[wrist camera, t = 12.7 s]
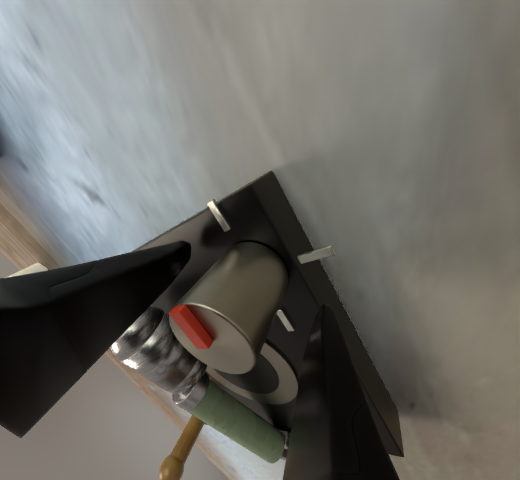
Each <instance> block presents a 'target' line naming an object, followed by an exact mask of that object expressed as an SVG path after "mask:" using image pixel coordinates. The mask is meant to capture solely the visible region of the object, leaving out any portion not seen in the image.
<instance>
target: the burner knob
mask: <svg viewBox="0 0 520 480" xmlns="http://www.w3.org/2000/svg"><path fill="white" fill-rule="evenodd" d="M288 281H289V279H288V272H287V269H286V267H285V265H284V263H283V261H282V260H281V259H280V258H279V256H278V255H277V254H276V253H274V252H273V251H272V250H270V249H269V248H267V247H265V246H263V245H261V244H258V243H254V242H242V243H238V244H235V245H233V246H232V247H230V248H229V249H228V250H227V251H226V252H225V253H224V254H223V256H222V257H221V258H220V259H219V260H218V261H217V262H216V263H215V264H214V265H213V266H212V267H211V268H210V269H209V270H208V271H207V272H206V273H205V274H204V275H203V276H202V277H201V278H200V279H199V281H198V282H197V283H196V284H195V285H194V286H193V287H192V288H191V289H190V290H189V291H188V292H187V293H186V294H185V295H184V296H183V297H182V298H181V299H180V300H179V301H178V302H177V303H176V304H175V305H174V307H173V308H172V309H171V311H170V312H169V322H170V326H171V329H172V331H173V333H174V335H175V336H176V338H177V339H178V340H179V342H180V343H181V344H182V345H183V346H184V348H186V349H187V350H188V351H189V352H190V353H191V354H192V355H193V356H195V357H196V358H197V359H199V360H200V361H201V362H203V363H205V364H206V365H208V366H210V367H212V368H214V369H217V370H219V371H222V372H226V373H230V374H244V373H247V372H249V371H250V370H251V369H252V368H253V367H254V366H255V364H256V362H257V360H258V357H259V355H260V352H261V350H262V347H263V345H264V343H265V340H266V338H267V335H268V333H269V330H270V328H271V325H272V323H273V321H274V318H275V316H276V313H277V311H278V308H279V306H280V303H281V301H282V299H283V296H284V294H285V291H286V289H287V286H288Z"/></svg>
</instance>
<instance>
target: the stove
mask: <svg viewBox="0 0 520 480" xmlns="http://www.w3.org/2000/svg"><path fill="white" fill-rule="evenodd" d="M207 205H208V206H209V207H208V208H206V209H204V210H202V211H201V212H199V213H197V214H195V215H194V216H192V217H190V218H189V219H187V220H185V221H183V222H182V223H180V224H178V225H177V226H175V227H173V228H171V229H170V230H168V231H166V232H164V233H163V234H161V235H159V236H158V237H156V238H154V239H152V240H151V241H149V242H147V243H146V244H144V245H142V246H140V247H139V248H137V249H136V250H134V251H132V252H135V251H139V250H143V249H147V248H152V247H156V246H160V245H164V244H169V243H173V242H177V241H182V240H183V241H186V242H188V243H190V244H191V258H190V260H189V262H188V263H187V265H186V266H185V267H184V268H183V270H182V271H181V272H180V273H179V275H178V276H177V277H176V279H175V280H174V281H173V282H172V284H171V285H170V286H169V287H168V288H167V289H166V290H165V291H164V292H163V293H162V294H161V295H160V296H159V297H158V298H157V299H156V300H155V302H154V303H153V304H152V305H153V306H156V307H159V308H161V309H162V310H164V311H165V312H166V313H167V314H169V312H170V311H171V309H172V308H173V307H174V305H175V304H176V303H177V302H178V301H179V300H180V299H181V298H182V297H183V296H184V295H185V294H186V293H187V292H188V291H189V290H190V289H191V288H192V287H193V286H194V285H195V284H196V283H197V282H198V281H199V279H200V278H201V277H202V276H203V275H204V274H205V273H206V272H207V271H208V270H209V269H210V268H211V267H212V266H213V265H214V264H215V263H216V262H217V261H218V260H219V259H220V258H221V257H222V256H223V254H224V253H225V252H226V251H227V250H228V249H229V248H230V247H232V246H233V245H235V244H238V243H242V242H254V243H258V244H261V245H263V246H265V247H267V248H269V249H270V250H272V251H273V252H274V253H276V254H277V255H278V256H279V258H280V259H281V260H282V261H283V263H284V265H285V267H286V269H287V272H288V279H289V281H288V286H287V289H286V291H285V294H284V296H283V299H282V301H281V303H280V306H279V308H278V311H277V313H276V316H275V318H274V321H273V323H272V325H271V328H270V330H269V333H268V335H267V338H266V340H265V341H267V342H268V343H270V344H271V345H272V346H273V347H275V348H276V349H277V350H278V351H279V352H280V353H281V354H282V355H283V356H284V357H285V358H286V359H287V360H288V362H289V363H290V364H291V366H292V368H293V369H294V371H295V373H296V375H297V378H298V384H299V380H300V374H301V368H302V362H303V357H304V352H305V348H306V345H307V342H308V338H309V335H310V331H311V328H312V325H313V321H314V318H315V316H316V314H317V313H318V311H319V309H320V308H321V306H322V305H323V304H326V305H328V306H331V307H332V308H333V309H334V311H335V314H336V317H337V320H338V322H339V325H340V328H341V331H342V333H343V336H344V339H345V342H346V344H347V347H348V350H349V353H350V355H351V358H352V361H353V364H354V366H355V369H356V372H357V375H358V377H359V380H360V383H361V386H362V388H363V391H364V394H365V396H366V401H367V402H368V404H369V407H370V410H371V413H372V415H373V418H374V421H375V423H376V426H377V428H378V431H379V433H380V436H381V438H382V441H383V443H384V445H385V448H386V450H387V452H388V454H391V455H395V456H400V457H404V453H403V445H402V438H401V430H400V423H399V415H398V411H397V409H396V407H395V405H394V403H393V401H392V399H391V397H390V395H389V393H388V392H387V390H386V388H385V386H384V384H383V382H382V380H381V378H380V376H379V374H378V372H377V371H376V369H375V367H374V365H373V363H372V361H371V359H370V357H369V355H368V353H367V351H366V349H365V348H364V346H363V344H362V342H361V340H360V338H359V336H358V334H357V332H356V330H355V328H354V327H353V325H352V323H351V321H350V319H349V317H348V315H347V313H346V311H345V309H344V307H343V306H342V304H341V302H340V300H339V298H338V296H337V294H336V292H335V290H334V288H333V286H332V284H331V283H330V281H329V279H328V277H327V275H326V273H325V271H324V269H323V267H322V265H321V263H320V262H319V260H318V259H321V258H325V257H329V256H333V255H335V251H334V249H333V247H332V245H330V246H327V247H323V248H320V249H316V250H313V248H312V246H311V244H310V242H309V241H308V239H307V237H306V235H305V233H304V231H303V229H302V227H301V225H300V223H299V221H298V219H297V218H296V216H295V214H294V212H293V210H292V208H291V206H290V204H289V202H288V200H287V198H286V197H285V195H284V193H283V191H282V189H281V187H280V185H279V183H278V181H277V179H276V177H275V176H274V174H273V172H272V171H270V172H268V173H266V174H264V175H263V176H261V177H259V178H258V179H256V180H254V181H252V182H251V183H249V184H247V185H245V186H244V187H242V188H240V189H239V190H237V191H235V192H233V193H232V194H230V195H228V196H226V197H225V198H223V199H221V200H220V201H218V202H216V201H215V200H212V201H210V202H208V203H207ZM206 372H207V371H206ZM207 373H208V372H207ZM208 375H209V376H210V377H211V378H212V380H213V381H214V382H215V383H216V384H217V385H218V386H220V387H221V388H222V389H224V390H225V391H227V392H228V393H229V394H231V395H232V396H233V397H235V398H236V399H237V400H239V401H240V402H242V403H243V404H244V405H246V406H247V407H248V408H250V409H251V410H252V411H254V412H255V413H257V414H258V415H259V416H261V417H262V418H263V419H265V420H266V421H267V422H269V423H270V424H272V425H273V426H274V427H276V428H277V429H280V430H285V431H288V432H289V433H291V428H292V422H293V416H294V410H295V404H296V398H297V395H296V396H295V398H294V399H293V400H291V401H290V402H288V403H284V404H266V403H261V402H257V401H254V400H251V399H248V398H246V397H244V396H241V395H239V394H237V393H235V392H234V391H232V390H230V389H229V388H227V387H225V386H224V385H222V384H221V383H220V382H218V381H217V380H216V379H215V378H213V377H212V376H211V375H210V374H209V373H208Z"/></svg>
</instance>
